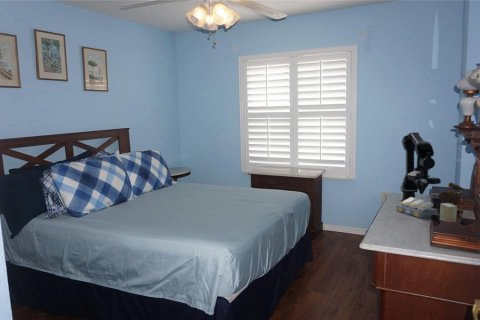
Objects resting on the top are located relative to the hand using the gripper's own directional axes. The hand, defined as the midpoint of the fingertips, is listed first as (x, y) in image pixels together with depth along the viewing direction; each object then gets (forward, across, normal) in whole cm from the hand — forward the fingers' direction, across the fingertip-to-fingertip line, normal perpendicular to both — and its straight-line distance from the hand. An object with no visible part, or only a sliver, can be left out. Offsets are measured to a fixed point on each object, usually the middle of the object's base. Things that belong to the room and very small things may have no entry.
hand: (421, 194), depth 196 cm
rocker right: (+5, +6, -3) cm, 8 cm away
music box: (+10, +18, -2) cm, 20 cm away
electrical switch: (+10, +2, +13) cm, 17 cm away
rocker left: (+5, -5, -3) cm, 8 cm away
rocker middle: (+5, 0, -3) cm, 6 cm away
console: (+10, 0, -3) cm, 11 cm away
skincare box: (+10, +27, -14) cm, 32 cm away
